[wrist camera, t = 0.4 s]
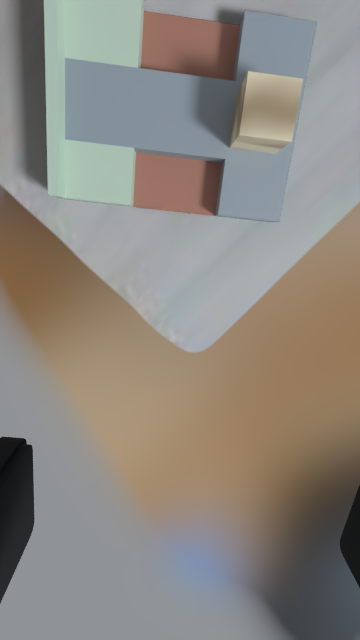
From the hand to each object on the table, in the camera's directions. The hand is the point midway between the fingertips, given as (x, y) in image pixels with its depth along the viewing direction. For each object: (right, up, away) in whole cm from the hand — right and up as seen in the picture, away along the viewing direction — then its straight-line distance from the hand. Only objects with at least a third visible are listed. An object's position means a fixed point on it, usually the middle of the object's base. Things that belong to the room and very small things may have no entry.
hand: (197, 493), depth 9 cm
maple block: (+7, +24, +21) cm, 32 cm away
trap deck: (-1, +25, +23) cm, 34 cm away
